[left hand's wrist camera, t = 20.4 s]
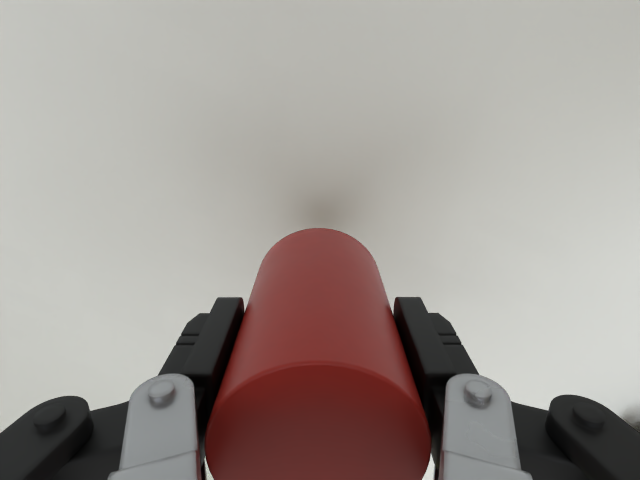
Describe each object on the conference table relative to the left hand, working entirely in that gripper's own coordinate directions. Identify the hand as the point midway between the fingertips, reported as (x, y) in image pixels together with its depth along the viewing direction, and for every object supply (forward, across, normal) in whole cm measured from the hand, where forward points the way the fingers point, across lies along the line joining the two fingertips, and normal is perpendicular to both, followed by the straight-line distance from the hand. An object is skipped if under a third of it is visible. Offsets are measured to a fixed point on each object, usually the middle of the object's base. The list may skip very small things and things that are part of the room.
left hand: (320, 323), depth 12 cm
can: (+3, 0, 0) cm, 3 cm away
